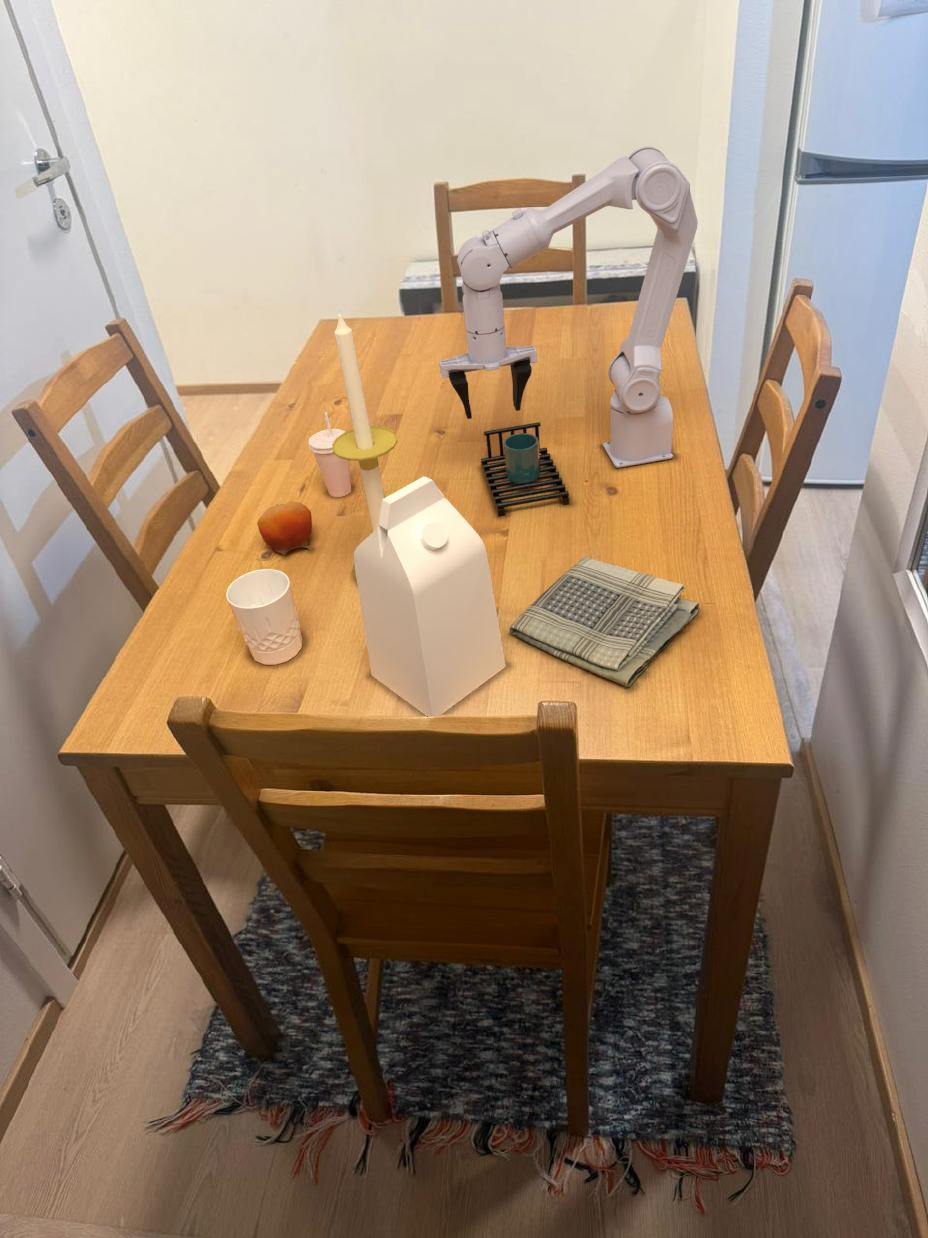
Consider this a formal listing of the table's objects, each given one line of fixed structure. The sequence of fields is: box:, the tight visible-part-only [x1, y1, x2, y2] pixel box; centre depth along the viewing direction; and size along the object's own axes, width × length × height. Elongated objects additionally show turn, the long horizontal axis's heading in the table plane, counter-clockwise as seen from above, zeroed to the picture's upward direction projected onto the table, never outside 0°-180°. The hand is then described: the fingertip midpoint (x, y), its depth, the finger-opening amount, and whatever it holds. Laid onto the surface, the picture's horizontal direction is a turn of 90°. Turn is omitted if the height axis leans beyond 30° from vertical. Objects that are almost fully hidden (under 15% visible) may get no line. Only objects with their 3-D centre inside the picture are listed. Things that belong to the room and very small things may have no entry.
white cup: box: [225, 568, 303, 666], centre depth 111 cm, size 8×8×10 cm
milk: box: [353, 475, 507, 717], centre depth 100 cm, size 12×12×26 cm
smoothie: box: [307, 411, 352, 498], centre depth 139 cm, size 6×6×14 cm
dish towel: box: [509, 556, 700, 688], centre depth 110 cm, size 19×18×3 cm
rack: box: [480, 421, 570, 517], centre depth 137 cm, size 11×15×7 cm
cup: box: [503, 432, 541, 484], centre depth 136 cm, size 5×5×6 cm
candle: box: [332, 309, 398, 581], centre depth 113 cm, size 10×10×38 cm
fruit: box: [256, 501, 313, 556], centre depth 131 cm, size 8×8×8 cm
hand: (492, 411), depth 137 cm, fingers open, 7 cm apart
